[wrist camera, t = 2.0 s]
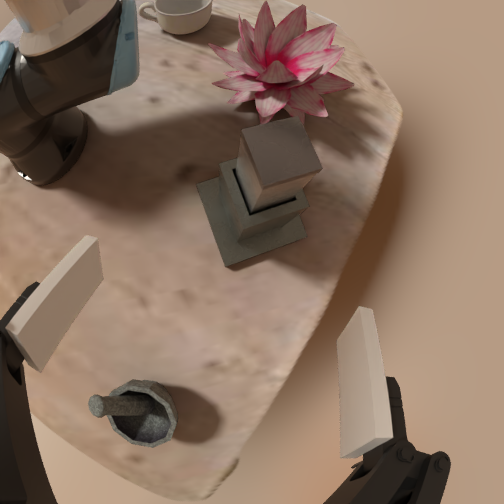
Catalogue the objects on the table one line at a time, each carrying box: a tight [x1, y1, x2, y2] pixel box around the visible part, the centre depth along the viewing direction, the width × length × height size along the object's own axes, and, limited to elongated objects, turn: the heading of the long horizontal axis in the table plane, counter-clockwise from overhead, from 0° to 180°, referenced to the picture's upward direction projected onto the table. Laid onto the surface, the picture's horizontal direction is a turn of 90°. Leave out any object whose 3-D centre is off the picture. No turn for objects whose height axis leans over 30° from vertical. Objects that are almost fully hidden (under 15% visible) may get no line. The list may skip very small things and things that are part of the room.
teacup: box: [139, 0, 212, 34], centre depth 38 cm, size 14×11×8 cm
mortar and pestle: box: [88, 379, 178, 448], centre depth 31 cm, size 11×9×12 cm
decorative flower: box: [208, 1, 354, 125], centre depth 35 cm, size 21×21×15 cm
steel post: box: [235, 116, 323, 216], centre depth 29 cm, size 4×4×20 cm
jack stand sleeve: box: [196, 158, 310, 267], centre depth 34 cm, size 12×12×13 cm
